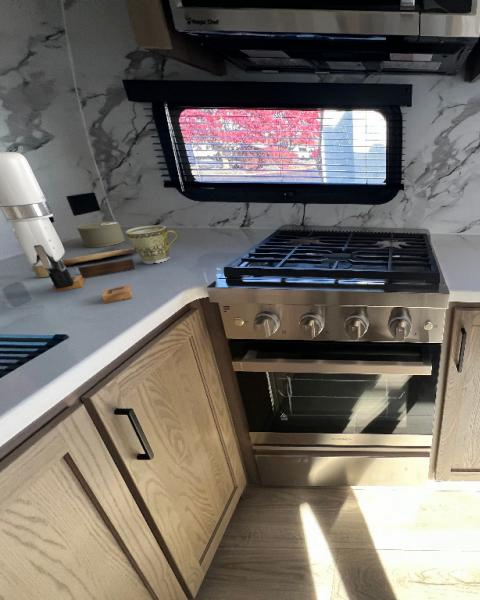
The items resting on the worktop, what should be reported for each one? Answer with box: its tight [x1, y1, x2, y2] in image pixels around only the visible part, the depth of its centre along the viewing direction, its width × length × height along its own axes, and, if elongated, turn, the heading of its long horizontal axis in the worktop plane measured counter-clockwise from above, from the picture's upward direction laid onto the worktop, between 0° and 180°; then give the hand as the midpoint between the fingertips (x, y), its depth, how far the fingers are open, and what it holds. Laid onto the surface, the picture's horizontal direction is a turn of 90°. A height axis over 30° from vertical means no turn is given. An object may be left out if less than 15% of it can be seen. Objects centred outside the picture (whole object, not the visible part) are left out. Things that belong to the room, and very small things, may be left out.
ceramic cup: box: [125, 224, 178, 265], centre depth 101 cm, size 13×10×10 cm
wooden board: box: [63, 247, 137, 267], centre depth 105 cm, size 25×10×1 cm, turn 128°
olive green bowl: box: [75, 220, 126, 249], centre depth 121 cm, size 12×12×7 cm
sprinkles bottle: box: [11, 228, 50, 278], centre depth 90 cm, size 5×5×14 cm
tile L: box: [101, 284, 133, 304], centre depth 79 cm, size 5×5×2 cm
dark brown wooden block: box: [77, 258, 136, 279], centre depth 94 cm, size 12×3×3 cm, turn 126°
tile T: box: [52, 274, 85, 293], centre depth 85 cm, size 5×5×2 cm
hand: (65, 286), depth 83 cm, fingers closed
